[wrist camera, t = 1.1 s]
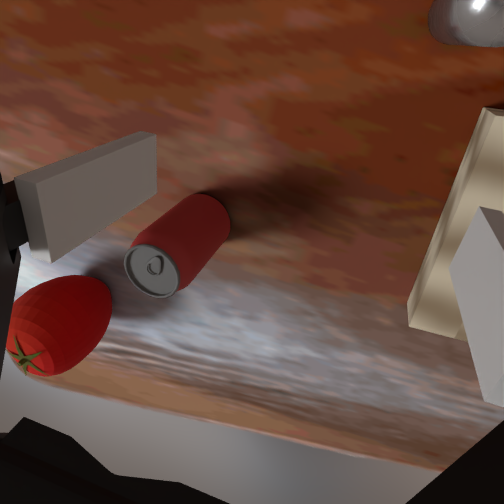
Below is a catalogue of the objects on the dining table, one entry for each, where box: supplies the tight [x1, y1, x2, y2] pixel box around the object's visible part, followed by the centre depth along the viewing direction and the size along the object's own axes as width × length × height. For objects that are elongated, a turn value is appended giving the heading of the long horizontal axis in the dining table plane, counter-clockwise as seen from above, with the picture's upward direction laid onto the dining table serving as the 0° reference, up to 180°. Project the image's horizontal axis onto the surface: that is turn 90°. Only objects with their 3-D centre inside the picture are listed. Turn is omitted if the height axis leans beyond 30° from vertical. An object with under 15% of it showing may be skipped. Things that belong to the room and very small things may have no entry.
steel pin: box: [428, 0, 504, 47], centre depth 21 cm, size 4×4×14 cm
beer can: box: [124, 194, 230, 298], centre depth 38 cm, size 7×7×12 cm
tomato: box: [5, 275, 112, 376], centre depth 49 cm, size 13×11×14 cm
